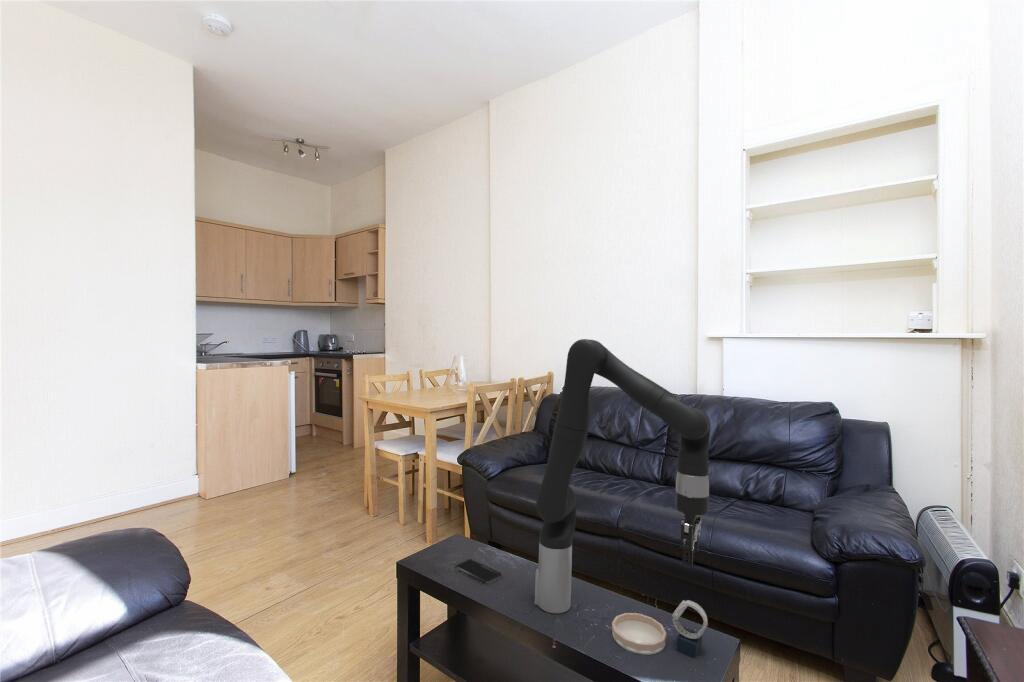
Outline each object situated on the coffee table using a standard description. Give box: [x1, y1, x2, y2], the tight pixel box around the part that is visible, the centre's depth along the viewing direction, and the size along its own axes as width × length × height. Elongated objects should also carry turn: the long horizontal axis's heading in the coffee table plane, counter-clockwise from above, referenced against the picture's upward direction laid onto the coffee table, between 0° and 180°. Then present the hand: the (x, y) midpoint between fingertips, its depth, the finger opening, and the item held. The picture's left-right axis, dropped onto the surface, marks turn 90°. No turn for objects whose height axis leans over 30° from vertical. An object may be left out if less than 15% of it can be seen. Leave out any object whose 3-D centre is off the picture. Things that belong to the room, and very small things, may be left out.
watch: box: [671, 599, 709, 659], centre depth 108 cm, size 6×8×11 cm
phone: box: [454, 558, 503, 585], centre depth 142 cm, size 8×1×15 cm
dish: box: [611, 612, 667, 656], centre depth 112 cm, size 13×13×2 cm
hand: (690, 558), depth 109 cm, fingers open, 8 cm apart
